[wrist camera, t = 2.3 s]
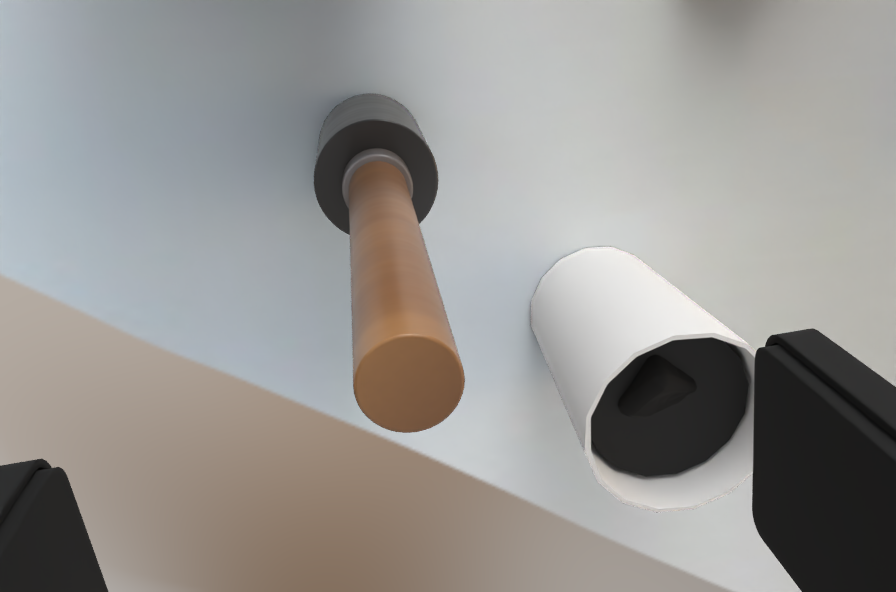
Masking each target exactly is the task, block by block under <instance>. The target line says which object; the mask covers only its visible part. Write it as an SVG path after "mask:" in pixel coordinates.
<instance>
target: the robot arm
mask: <svg viewBox="0 0 896 592" xmlns="http://www.w3.org/2000/svg"><path fill="white" fill-rule="evenodd" d="M752 511H753V518H754V522H755V525H756V528H757V531H758V533H759V535H760V536H761V538H762V539H763V541H764V542H765V543H766V545H767V546H768V547H769V549H770V550H771V551H772V553H773V554H774V555H775V557H776V558H777V559H778V561H779V562H780V563H781V565H782V566H783V567H784V569H785V570H786V571H787V573H788V574H789V575H790V576H791V578H792V579H793V580H794V582H795V583H796V584H797V586H798V587H799V588H800V590H801V591H802V592H896V387H895V386H893V385H892V384H891V383H889V382H888V381H887V380H885V379H884V378H882V377H881V376H880V375H878V374H877V373H876V372H874V371H873V370H871V369H870V368H869V367H867V366H866V365H865V364H863V363H862V362H860V361H859V360H858V359H856V358H855V357H853V356H852V355H851V354H849V353H848V352H847V351H845V350H844V349H842V348H841V347H840V346H838V345H837V344H836V343H834V342H833V341H831V340H830V339H829V338H827V337H826V336H825V335H823V334H822V333H820V332H819V331H817V330H815V329H806V330H800V331H794V332H788V333H782V334H777V335H771V336H770V337H769V338H768V340H767V342H766V345H765V347H762V348H759V349H758V350H757V351H756V354H755V364H754V430H753V496H752ZM0 592H108V589H107V587H106V584H105V581H104V578H103V575H102V573H101V570H100V567H99V564H98V561H97V558H96V556H95V553H94V550H93V547H92V544H91V542H90V539H89V536H88V533H87V531H86V528H85V525H84V522H83V519H82V516H81V514H80V511H79V508H78V505H77V502H76V500H75V497H74V494H73V491H72V488H71V486H70V483H69V480H68V478H67V475H66V473H65V472H64V470H63V469H62V468H60V467H56V468H51V466H50V465H49V463H47V461H45V460H43V459H37V460H32V461H26V462H20V463H14V464H8V465H2V466H0Z"/></svg>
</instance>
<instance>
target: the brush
mask: <svg viewBox="0 0 896 592" xmlns="http://www.w3.org/2000/svg"><path fill="white" fill-rule="evenodd" d="M314 188H315V194H316V197H317V200H318V203H319V205H320V207H321V209H322V211H323V212H324V214H325V215H326V216H327V218H328V219H329V220H330V221H331V222H332V223H333V224H334V225H335V226H336V227H338V228H339V229H340V230H342V231H343V232H345V233H347V234H349V235H350V266H351V307H352V348H353V387H354V394H355V398H356V401H357V403H358V405H359V407H360V409H361V410H362V412H363V413H364V414H365V415H366V416H367V417H368V418H369V419H370V420H371V421H373V422H374V423H376V424H377V425H379V426H381V427H383V428H385V429H388V430H391V431H395V432H403V433H410V432H418V431H422V430H426V429H429V428H431V427H433V426H435V425H437V424H439V423H440V422H442V421H443V420H444V419H446V418H447V417H448V416H449V415H450V414H451V413H452V412H453V410H454V409H455V408H456V406H457V405H458V403H459V401H460V399H461V396H462V394H463V390H464V382H465V379H464V371H463V367H462V363H461V360H460V357H459V354H458V350H457V347H456V344H455V341H454V337H453V334H452V331H451V328H450V324H449V321H448V318H447V314H446V311H445V308H444V305H443V301H442V298H441V295H440V292H439V288H438V285H437V282H436V278H435V275H434V272H433V269H432V265H431V262H430V259H429V256H428V252H427V249H426V246H425V243H424V239H423V236H422V233H421V229H420V226H419V224H420V223H421V222H422V220H423V219H424V218H425V217H426V216H427V214H428V213H429V211H430V209H431V207H432V205H433V203H434V201H435V198H436V194H437V189H438V171H437V166H436V162H435V159H434V156H433V154H432V152H431V150H430V149H429V147H428V145H427V143H426V141H425V139H424V137H423V135H422V133H421V131H420V129H419V127H418V125H417V123H416V121H415V119H414V118H413V116H412V115H411V113H410V112H409V111H408V110H407V109H406V108H405V107H404V106H403V105H402V104H400V103H399V102H397V101H395V100H393V99H391V98H389V97H386V96H383V95H378V94H362V95H357V96H354V97H351V98H348V99H347V100H345V101H343V102H341V103H340V104H339V105H337V106H336V107H335V108H334V109H333V110H332V111H331V112H330V114H329V115H328V116H327V118H326V120H325V121H324V124H323V126H322V129H321V132H320V137H319V144H318V151H317V157H316V164H315V171H314Z"/></svg>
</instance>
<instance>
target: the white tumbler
mask: <svg viewBox="0 0 896 592" xmlns="http://www.w3.org/2000/svg"><path fill="white" fill-rule="evenodd" d="M531 327H532V329H533V332H534V334H535V336H536V339H537V341H538V343H539V346H540V348H541V350H542V353H543V355H544V358H545V360H546V362H547V365H548V367H549V369H550V372H551V374H552V376H553V379H554V381H555V384H556V386H557V388H558V391H559V393H560V395H561V398H562V400H563V402H564V405H565V407H566V410H567V412H568V414H569V417H570V419H571V421H572V424H573V426H574V428H575V431H576V433H577V436H578V438H579V440H580V443H581V445H582V447H583V450H584V452H585V454H586V457H587V459H588V461H589V464H590V466H591V468H592V470H593V473H594V475H595V477H596V480H597V482H598V483H599V484H600V485H601V486H603V487H604V488H605V489H606V490H608V491H609V492H610V493H611V494H612V495H614V496H615V497H616V498H617V499H618V500H620V501H621V502H622V503H624V504H627V505H631V506H635V507H638V508H642V509H645V510H649V511H653V512H656V513H658V512H669V511H680V510H690V509H696V508H698V507H700V506H702V505H705V504H707V503H709V502H712V501H714V500H716V499H719V498H721V497H723V496H726V495H728V494H730V493H731V492H732V491H733V490H734V489H736V488H737V487H738V486H739V485H740V484H741V483H743V482H744V481H745V480H746V479H747V478H748V477H749V476H751V475H752V474H753V430H754V364H755V354H756V351H755V350H754V349H753V348H752V347H751V346H750V345H749V344H748V343H746V342H745V341H744V340H743V339H741V338H740V337H739V336H737V335H736V334H735V333H734V332H732V331H731V330H730V329H728V328H727V327H726V326H725V325H723V324H722V323H721V322H719V321H718V320H717V319H716V318H714V317H713V316H712V315H710V314H709V313H708V312H707V311H705V310H704V309H703V308H701V307H700V306H699V305H698V304H696V303H695V302H694V301H692V300H691V299H690V298H689V297H687V296H686V295H685V294H683V293H682V292H681V291H680V290H678V289H677V288H676V287H674V286H673V285H672V284H671V283H669V282H668V281H667V280H665V279H664V278H663V277H662V276H660V275H659V274H658V273H656V272H655V271H654V270H653V269H651V268H650V267H649V266H647V265H646V264H645V263H644V262H642V261H641V260H640V259H638V258H637V257H636V256H635V255H633V254H630V253H627V252H625V251H622V250H619V249H616V248H614V247H593V248H584V249H582V250H579V251H577V252H575V253H573V254H570V255H568V256H566V257H564V258H562V259H560V260H559V261H558V262H557V263H556V264H555V265H554V266H553V267H552V268H551V269H550V270H549V271H548V272H547V273H546V274H545V275H544V276H543V277H542V278H541V280H540V282H539V285H538V287H537V289H536V291H535V294H534V296H533V298H532V300H531Z"/></svg>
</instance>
